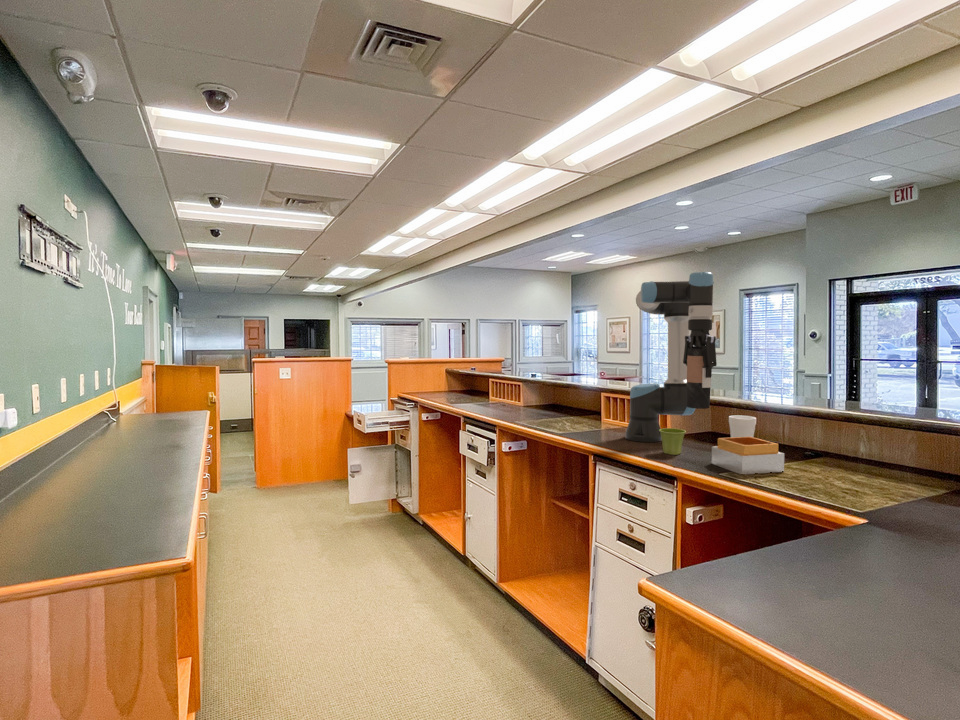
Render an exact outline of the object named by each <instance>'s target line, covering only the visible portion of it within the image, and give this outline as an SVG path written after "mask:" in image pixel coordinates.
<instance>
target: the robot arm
mask: <svg viewBox="0 0 960 720" xmlns="http://www.w3.org/2000/svg"><path fill="white" fill-rule="evenodd" d="M714 282H715V281H714V274H713V273H712V272H710V271H696V272H691V273H690V274H689V277H688V281H687V280H683V281H681V280H679V281H678V280H675V281H645V282H642V283H641V286H640V291H639V292H638V293H637V295H636V298H635V303H636V306H637V307H638V309H640V310H641V311H643V312H645V313H647V314H650V315H662V316H663V319H664V320H665V322H667V379H666V380H665V381H664V382H663V386H660V384H659V383H657V382H656V383H655V382H654V383H643V384H642V383H641V384H637V385H633V386H632V387H631V388H630V392H629V394H630V395H629V399H630V400H629V422H628V424H627V427H626V430H625V434H624V435H625V436H624V437H625V439H626V440H629V441H632V442H642V443H655V442H656V443H657V442H662V436H661V433H660V431H659V430H660V429H662V428H661V426H660V423H659V415H661V416H665V415H666V416H680V417H681V416H691V415H693V414H694V413H695V410H696V408H689V407H687V356H688V355H687V354H688V348H690V349H707V351H704V350H703V363H704V366H703V369H702V388H711V387H712V375H713V374H712V372H713V371H712V369H713V368H714V367H717V365H718V364H717V352H716V339H717V337H716V336H715V335H710V331H712V330H713V320H712V318H713V316H714V314H713V313H714V312H713V309H714V308H713V297H714V296H713V295H714V284H715V283H714ZM707 363H708V364H707Z"/></svg>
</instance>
